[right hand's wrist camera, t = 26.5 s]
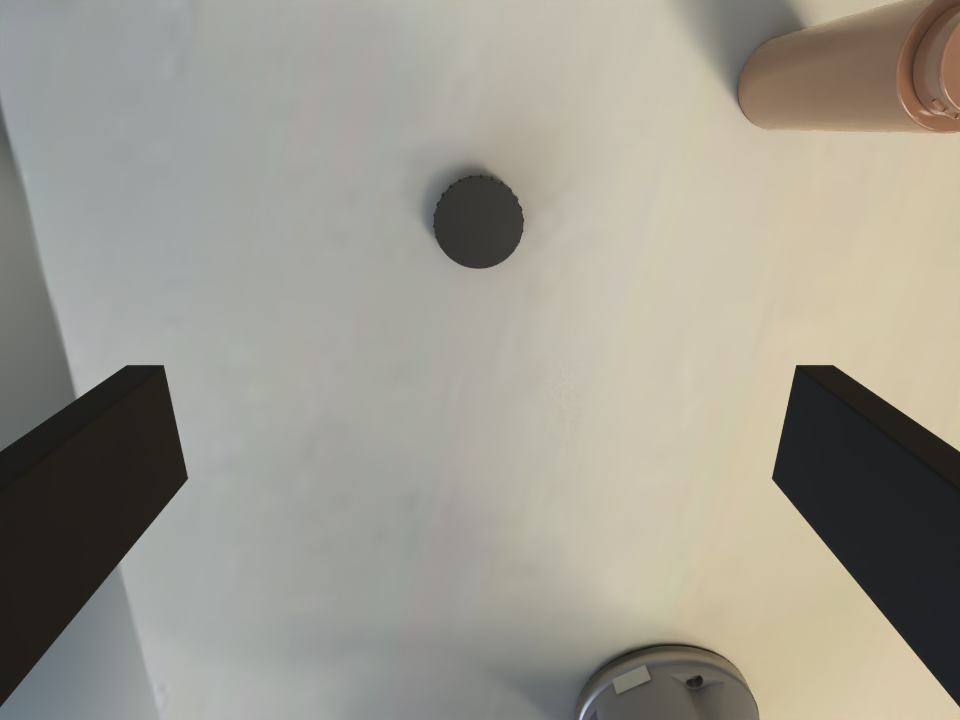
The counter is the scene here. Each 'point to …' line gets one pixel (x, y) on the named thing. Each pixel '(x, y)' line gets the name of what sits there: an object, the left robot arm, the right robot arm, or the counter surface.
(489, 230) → the lid
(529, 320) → the counter surface
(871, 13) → the jar
